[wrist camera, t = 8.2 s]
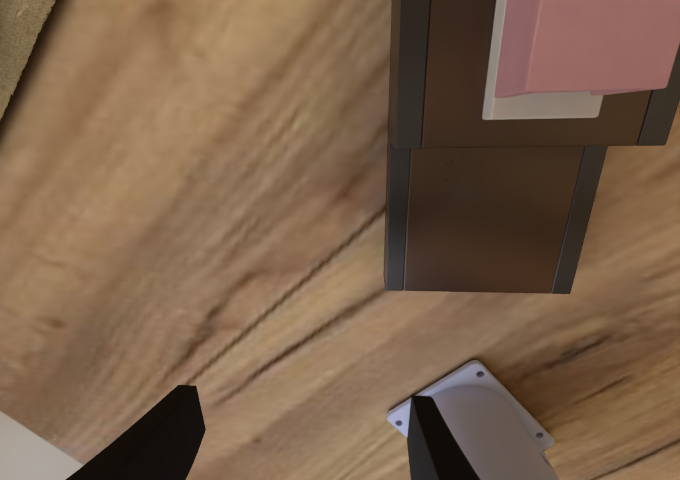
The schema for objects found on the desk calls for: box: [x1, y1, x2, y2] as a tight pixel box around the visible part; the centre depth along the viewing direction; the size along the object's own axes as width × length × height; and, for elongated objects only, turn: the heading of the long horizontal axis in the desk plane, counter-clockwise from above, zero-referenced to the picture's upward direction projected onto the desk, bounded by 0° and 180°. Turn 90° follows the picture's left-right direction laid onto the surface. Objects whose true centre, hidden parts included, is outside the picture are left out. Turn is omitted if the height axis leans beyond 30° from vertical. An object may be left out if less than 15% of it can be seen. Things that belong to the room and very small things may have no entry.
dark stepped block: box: [384, 0, 680, 294], centre depth 15 cm, size 16×10×5 cm, turn 1°
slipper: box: [482, 0, 680, 120], centre depth 9 cm, size 6×4×3 cm, turn 1°
